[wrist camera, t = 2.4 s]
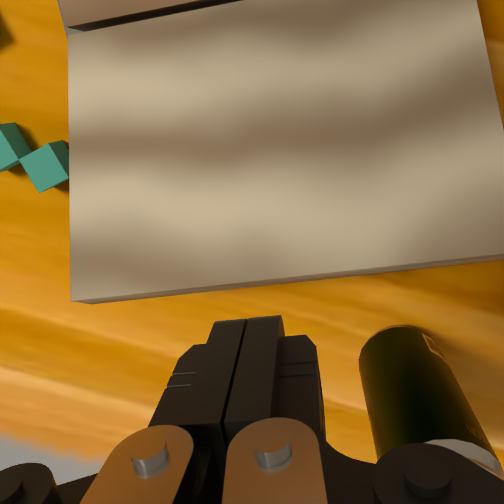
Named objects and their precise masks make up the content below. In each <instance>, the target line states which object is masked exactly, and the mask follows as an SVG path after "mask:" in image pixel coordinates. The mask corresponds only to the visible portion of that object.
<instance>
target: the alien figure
mask: <svg viewBox="0 0 504 504" xmlns="http://www.w3.org/2000/svg"><path fill="white" fill-rule="evenodd" d="M0 35H1V33H0ZM19 163H21V164H22V166H23V167H24V169H25V171H26V172H27V174H28V176H29V177H30V179H31V181H32V182H33V184H34V185H35V187H36V189H37V190H38V192H39V193H40V192H43V191H45V190H48V189H50V188H53V187H55V186H57V185H59V184H60V183H62V182H64V181H66V180H68V179H69V150H68V148H67V147H66V145H65V143H64V141H63V140H61V141H57V142H52V143H48V144H46V145H45V146H43V147H41V148H39V149H37V150H35V151H33V152H32V151H31V149H30V147H29V146H28V144H27V142H26V141H25V139H24V137H23V136H22V134H21V132H20V131H19V129H18V127H17V126H16V124H15V122H14V123H6V124H0V172H2V171H6V170H8V169H10V168H12V167H14V166H16V165H18V164H19Z"/></svg>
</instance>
